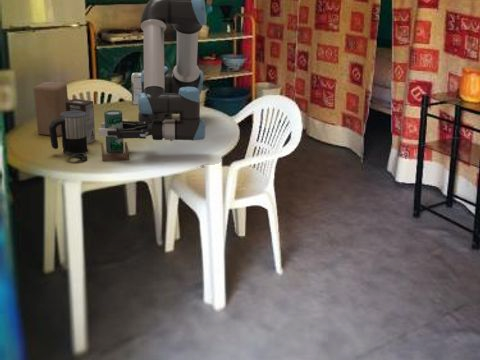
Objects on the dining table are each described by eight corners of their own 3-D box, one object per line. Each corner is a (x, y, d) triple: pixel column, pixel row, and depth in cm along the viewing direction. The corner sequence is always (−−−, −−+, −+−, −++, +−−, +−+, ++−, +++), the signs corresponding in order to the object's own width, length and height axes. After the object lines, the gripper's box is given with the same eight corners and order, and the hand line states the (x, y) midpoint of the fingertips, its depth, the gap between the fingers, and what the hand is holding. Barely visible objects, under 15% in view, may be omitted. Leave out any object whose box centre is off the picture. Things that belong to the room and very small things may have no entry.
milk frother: (77, 146, 238) (74, 108, 232) (105, 154, 229) (103, 116, 224) (47, 155, 227) (43, 116, 222) (75, 164, 219) (72, 124, 213)
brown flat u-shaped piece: (126, 148, 237) (126, 141, 236) (129, 159, 225) (129, 153, 224) (101, 149, 235) (101, 143, 234) (102, 161, 223) (102, 154, 222)
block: (59, 136, 248) (55, 88, 241) (37, 134, 250) (32, 86, 242) (71, 130, 257) (67, 82, 250) (49, 128, 259) (44, 81, 251)
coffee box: (67, 141, 243) (64, 101, 237) (76, 137, 248) (73, 98, 242) (87, 144, 240) (84, 104, 234) (96, 139, 246) (93, 100, 240)
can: (115, 155, 224) (113, 115, 219) (103, 152, 227) (101, 112, 222) (126, 150, 229) (125, 112, 224) (114, 147, 232) (112, 109, 226)
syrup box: (132, 101, 303) (131, 72, 298) (144, 101, 304) (144, 72, 298) (131, 104, 298) (130, 75, 293) (144, 104, 298) (143, 75, 293)
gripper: (162, 148, 219) (96, 147, 217) (164, 131, 237) (104, 131, 235) (161, 127, 216) (95, 127, 214) (164, 112, 234) (103, 112, 232)
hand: (100, 129), depth 225 cm, fingers closed on can, 6 cm apart
